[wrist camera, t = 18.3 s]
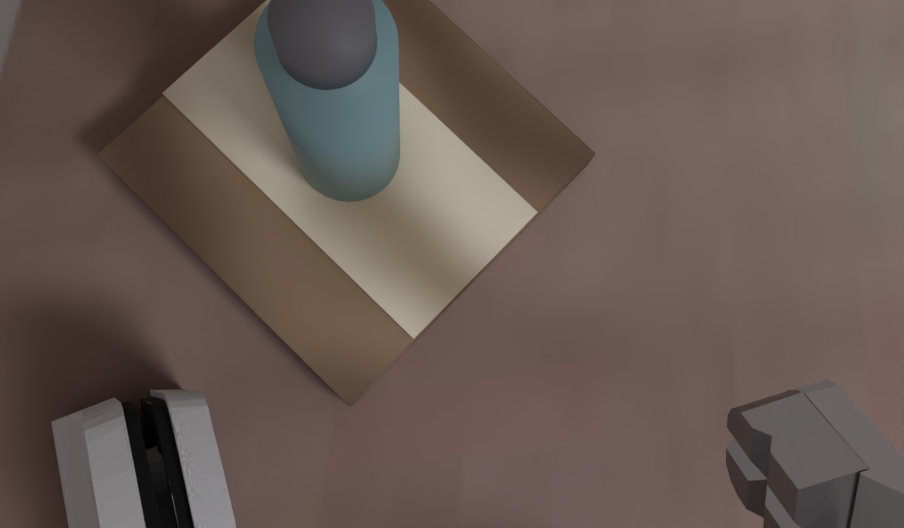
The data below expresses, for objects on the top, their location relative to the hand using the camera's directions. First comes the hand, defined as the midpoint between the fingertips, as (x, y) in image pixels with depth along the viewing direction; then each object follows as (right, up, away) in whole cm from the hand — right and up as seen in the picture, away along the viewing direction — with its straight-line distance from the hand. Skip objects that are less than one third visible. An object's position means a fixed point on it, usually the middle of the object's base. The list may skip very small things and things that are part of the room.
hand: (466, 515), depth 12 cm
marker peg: (-4, +8, +21) cm, 23 cm away
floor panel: (-4, +8, +23) cm, 24 cm away
